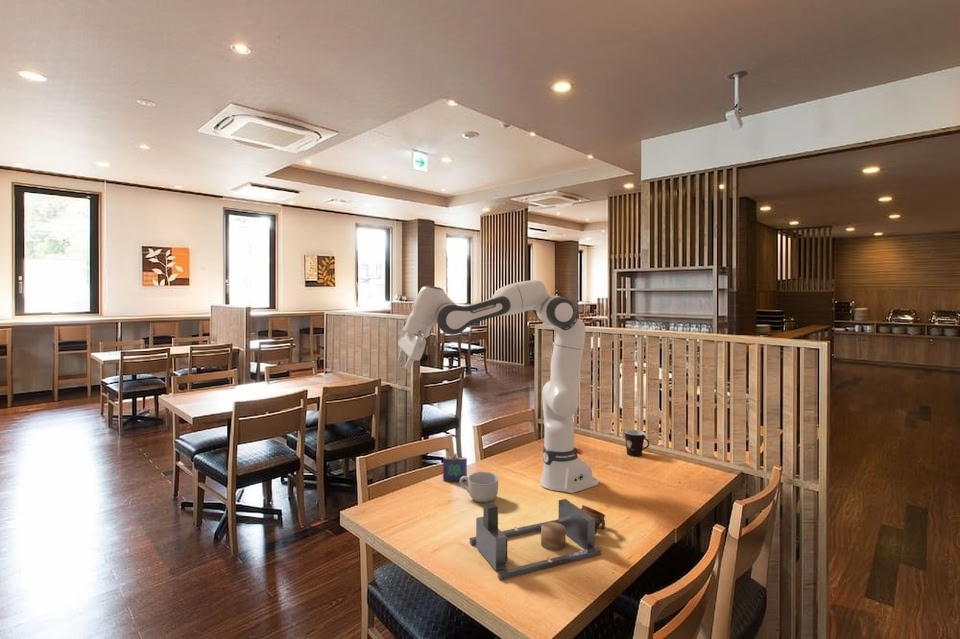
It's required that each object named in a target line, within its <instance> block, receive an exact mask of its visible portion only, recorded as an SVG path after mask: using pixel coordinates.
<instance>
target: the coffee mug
mask: <svg viewBox="0 0 960 639" xmlns="http://www.w3.org/2000/svg"><path fill="white" fill-rule="evenodd" d="M645 435H646V434H645V431H642V430H639V429H638V430H636V429H626V430H625V431H624V438H625V447H626V454H627V456H630V457H636V458H637V457H638V458H639V457H641V456H642V455H643V450H646V449H647V448H649V446H650V441H649V439H647V438H646V437H645ZM644 441H646V442H647V445H646V446H645V447H644Z"/></svg>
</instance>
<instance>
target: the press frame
mask: <svg viewBox="0 0 960 639" xmlns="http://www.w3.org/2000/svg"><path fill="white" fill-rule="evenodd" d="M581 509H582V508H580V507H578V506H577V505H575V503H572V502H571V501H569V500H568V499H566V498H563V499H559V500H558V517H557V519H553V520H548V521H544V522H539V523H533V524H530V525H526V526H525V525H524V526H520V527H517V526H515V527H513V528H510V529H506V530H502V531H501V530H500V531H501V532H502V533H503V534H504V535H505V536H506V538H507V539H508V538H513V537H517V536H522V535H526V534H530V533H531V534H532V533H535V532H539V531H540V532H541V526H542V525H543V524H545V523H548V522H555V523H559V524H562V525H564V526H565V528H566V536H567V537H568V538H569V539H571V541H573V542H574V543H576V544H577V545H578V546H579V547H580V548H582V550H580V551H576V552H572V553H569V554H568V553H567V554H564V555H560V556H556V557H553V558H550V557H546V559H543V560H541V561H535V562H532V563H528V564H523V565H519V566H515V567H512V568H506V569H502V570H498V571H497V578H498V580H499V581H504V580H508V579H513V578H515V577H520V576H523V575H527V574H532V573H535V572H539V571H542V570H543V571H544V570H547V569H551V568H555V567H558V566H563V565H566V564H571V563H575V562H579V561H583V560H586V559H590V558H594V557H598V556H601V554H602V551H601V550H602V549H600V548H599V547H596V541H595V540H596V534H595V519H594V518H593V517H591V516H590V515H588V514H587V513H585V512H584V511H582V510H581ZM469 544H470V545H471V546H476V536H473V537H470V538H469Z"/></svg>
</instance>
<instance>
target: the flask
mask: <svg viewBox="0 0 960 639" xmlns="http://www.w3.org/2000/svg"><path fill="white" fill-rule="evenodd" d="M457 455H458V453H457V452H456V453H453V455H452V456H450V455H448V456H444V457H443V460H442V468H443V469H442V471H443V473H442V474H443V476H442V480H443V482H445V483H446V482H447V483H448V482H449V483H460V478H461V477H462V476H467V477H468V468H467V467H468V466H467V465H468V464H467V463H468V459H467V457H465V456H463V457H458V456H457ZM462 482H463V483H464V482H465V483H466V482H467V480H466V479H463V480H462Z"/></svg>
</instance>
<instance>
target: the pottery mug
mask: <svg viewBox="0 0 960 639" xmlns="http://www.w3.org/2000/svg"><path fill="white" fill-rule="evenodd" d="M580 509H581V510H582V511H584V512H585V513H587V514H588V515H590V516H591V517H593V518H594V519H595V535H597V532H598V530H599V528H600V526H601V529H602V530H605V528H606V520H605V517H606V514H604V513H603V512H601V511H599V510H597V509H595V508H592V507H590V506H587V505H582V506H581V508H580Z"/></svg>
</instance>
